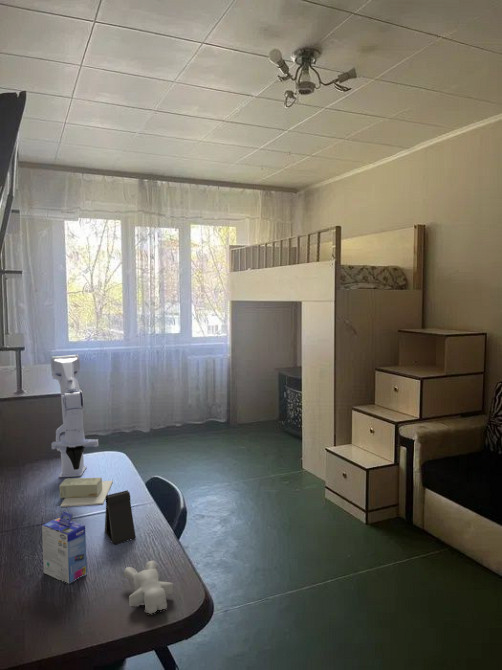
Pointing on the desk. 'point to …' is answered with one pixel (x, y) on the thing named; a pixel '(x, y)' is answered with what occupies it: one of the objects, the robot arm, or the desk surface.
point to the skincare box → (80, 487)
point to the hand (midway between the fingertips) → (76, 468)
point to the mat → (89, 500)
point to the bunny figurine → (148, 588)
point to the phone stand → (119, 517)
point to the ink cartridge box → (64, 548)
